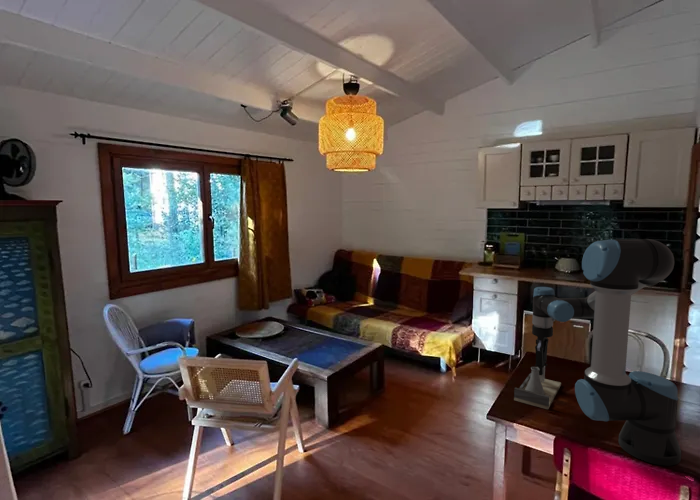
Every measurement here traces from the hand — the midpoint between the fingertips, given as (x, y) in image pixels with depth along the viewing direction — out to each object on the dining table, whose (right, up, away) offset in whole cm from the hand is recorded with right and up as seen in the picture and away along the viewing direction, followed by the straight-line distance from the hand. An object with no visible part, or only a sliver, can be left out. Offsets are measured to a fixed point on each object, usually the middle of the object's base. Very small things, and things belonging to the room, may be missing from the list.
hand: (540, 381), depth 160 cm
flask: (-5, -3, -6) cm, 8 cm away
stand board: (-3, -3, -3) cm, 5 cm away
